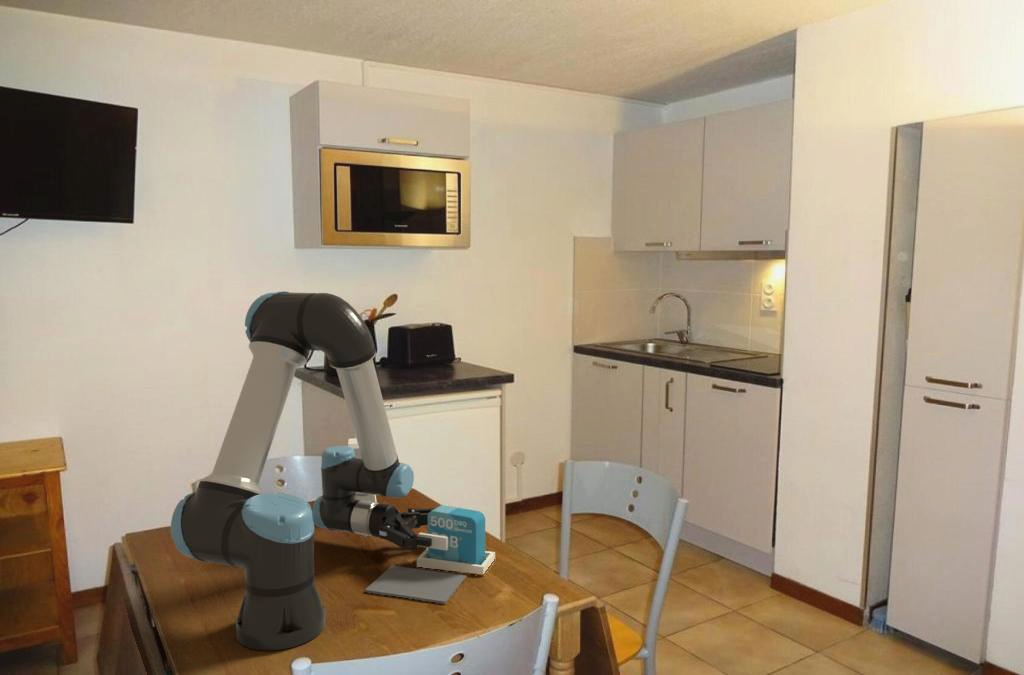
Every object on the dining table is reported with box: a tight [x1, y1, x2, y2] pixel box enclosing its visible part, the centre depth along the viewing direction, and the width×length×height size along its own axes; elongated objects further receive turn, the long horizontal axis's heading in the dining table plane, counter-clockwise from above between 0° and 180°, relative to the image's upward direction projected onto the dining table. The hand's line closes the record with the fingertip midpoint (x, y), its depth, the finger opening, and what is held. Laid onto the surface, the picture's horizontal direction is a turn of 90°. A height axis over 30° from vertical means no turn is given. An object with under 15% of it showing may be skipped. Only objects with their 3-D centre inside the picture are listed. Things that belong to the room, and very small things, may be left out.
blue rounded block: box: [427, 504, 486, 565], centre depth 154 cm, size 12×4×12 cm, turn 65°
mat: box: [364, 565, 467, 605], centre depth 144 cm, size 12×17×1 cm
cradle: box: [416, 547, 496, 574], centre depth 154 cm, size 8×15×2 cm, turn 74°
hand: (461, 532), depth 154 cm, fingers open, 13 cm apart
